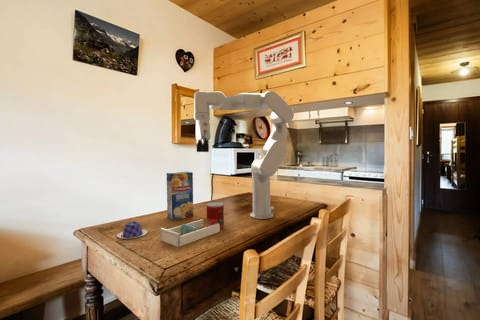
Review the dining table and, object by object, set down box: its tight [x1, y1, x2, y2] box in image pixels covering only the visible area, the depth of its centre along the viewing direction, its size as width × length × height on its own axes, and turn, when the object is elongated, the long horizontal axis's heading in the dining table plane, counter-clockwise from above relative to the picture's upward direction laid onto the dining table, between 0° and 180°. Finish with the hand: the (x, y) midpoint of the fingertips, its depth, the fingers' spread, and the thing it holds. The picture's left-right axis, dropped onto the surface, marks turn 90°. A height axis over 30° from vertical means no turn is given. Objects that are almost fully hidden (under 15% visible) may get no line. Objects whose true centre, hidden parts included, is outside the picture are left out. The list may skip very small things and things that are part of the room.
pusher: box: [181, 223, 197, 235], centre depth 100 cm, size 2×9×4 cm, turn 50°
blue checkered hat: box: [116, 221, 148, 240], centre depth 104 cm, size 12×12×5 cm
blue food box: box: [166, 171, 194, 221], centre depth 131 cm, size 12×8×24 cm, turn 126°
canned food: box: [206, 201, 225, 230], centre depth 112 cm, size 8×8×11 cm
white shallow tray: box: [160, 218, 221, 248], centre depth 102 cm, size 22×12×5 cm, turn 140°
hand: (202, 151), depth 120 cm, fingers open, 9 cm apart
